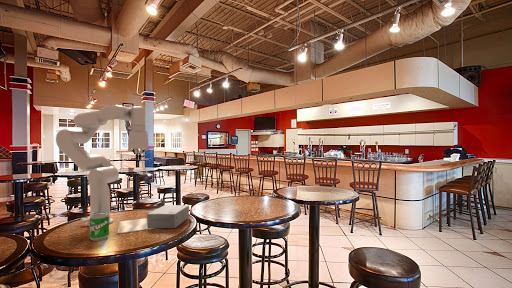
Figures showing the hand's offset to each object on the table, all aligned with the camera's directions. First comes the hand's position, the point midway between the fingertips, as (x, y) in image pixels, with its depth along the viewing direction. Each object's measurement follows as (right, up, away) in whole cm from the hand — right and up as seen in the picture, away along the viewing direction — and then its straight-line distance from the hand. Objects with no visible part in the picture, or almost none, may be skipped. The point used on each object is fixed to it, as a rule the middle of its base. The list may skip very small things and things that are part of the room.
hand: (138, 161), depth 138 cm
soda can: (-8, -35, -22) cm, 42 cm away
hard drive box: (+16, -30, -11) cm, 36 cm away
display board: (+5, -35, -1) cm, 35 cm away
